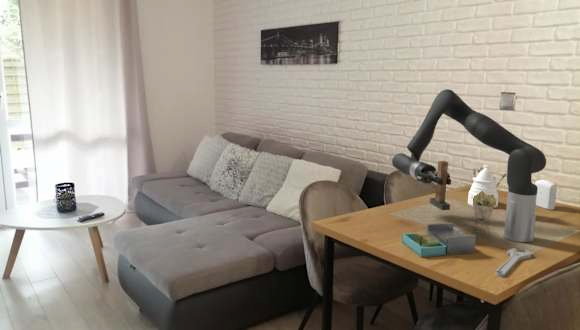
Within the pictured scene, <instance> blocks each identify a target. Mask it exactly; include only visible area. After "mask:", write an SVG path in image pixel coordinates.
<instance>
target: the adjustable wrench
mask: <svg viewBox="0 0 580 330" xmlns="http://www.w3.org/2000/svg"><path fill="white" fill-rule="evenodd" d="M506 254H507V255H508V256H510V257H509V258H508V259H507V260H506V261H505V262H503V263H502V264H501V265H500V266H499V267H498V268H497V269H496V270H495V271H494V274H495V276H496V277H499V278H505V277H506V275H507V274H508V273H509V272H510V271H511V270H512V269H513V268H514V266H516V264H517V263H518V262H519V261H521V260H526V259H530V258H531V257H532V252H531V250H528V249H525V250H524V251H523V252H522V251H518V250H517V248H516V247H512V248H510V249H509V250H507V251H506Z"/></svg>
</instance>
